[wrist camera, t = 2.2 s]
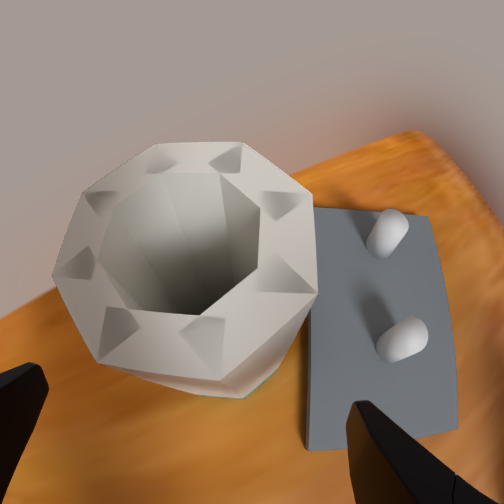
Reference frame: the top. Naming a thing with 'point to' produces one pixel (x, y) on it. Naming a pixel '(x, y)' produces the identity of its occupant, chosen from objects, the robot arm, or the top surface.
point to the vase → (191, 267)
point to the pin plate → (378, 326)
